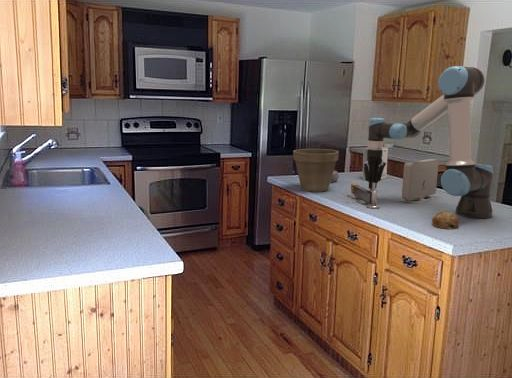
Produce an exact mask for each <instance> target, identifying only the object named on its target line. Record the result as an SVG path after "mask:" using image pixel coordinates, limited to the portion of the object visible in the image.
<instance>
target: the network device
mask: <svg viewBox="0 0 512 378" xmlns="http://www.w3.org/2000/svg"><path fill="white" fill-rule="evenodd" d="M439 163H440V162H439V159H434V158H427V159H422V160H421V159H420V160H415V161H414V160H413V161H406V162H405V163H404V165H403V174H402V175H403V177H402V187H401V198H402V202H405V203H409V204H410V203H411V204H421V203H425V202H429V201H433V200H434V199H435V197H433V196H432V195H436V192H437V185H438V184H437V183H438V175H439V165H440V164H439ZM426 198H427V199H426ZM413 200H415V201H413Z"/></svg>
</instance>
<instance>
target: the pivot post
mask: <svg viewBox="0 0 512 378" xmlns="http://www.w3.org/2000/svg"><path fill="white" fill-rule="evenodd" d="M377 200H378V190H376V189H375V190H372V200H371V204H366V206H367V208H368V209H372V210H374V209H375V210H376V209H377V210H378V209H381V205H379V204H378V202H377Z"/></svg>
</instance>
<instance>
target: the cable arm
mask: <svg viewBox="0 0 512 378" xmlns="http://www.w3.org/2000/svg"><path fill="white" fill-rule="evenodd" d="M350 194H351V195H356V196H358V197H360V198H361V199H360V200H365V201H367V202H368V203H371V200H372V192H371V191H370V189H366V187H365V188H364V187H363V186H361V185H360V184H357V183H351V184H350Z"/></svg>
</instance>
